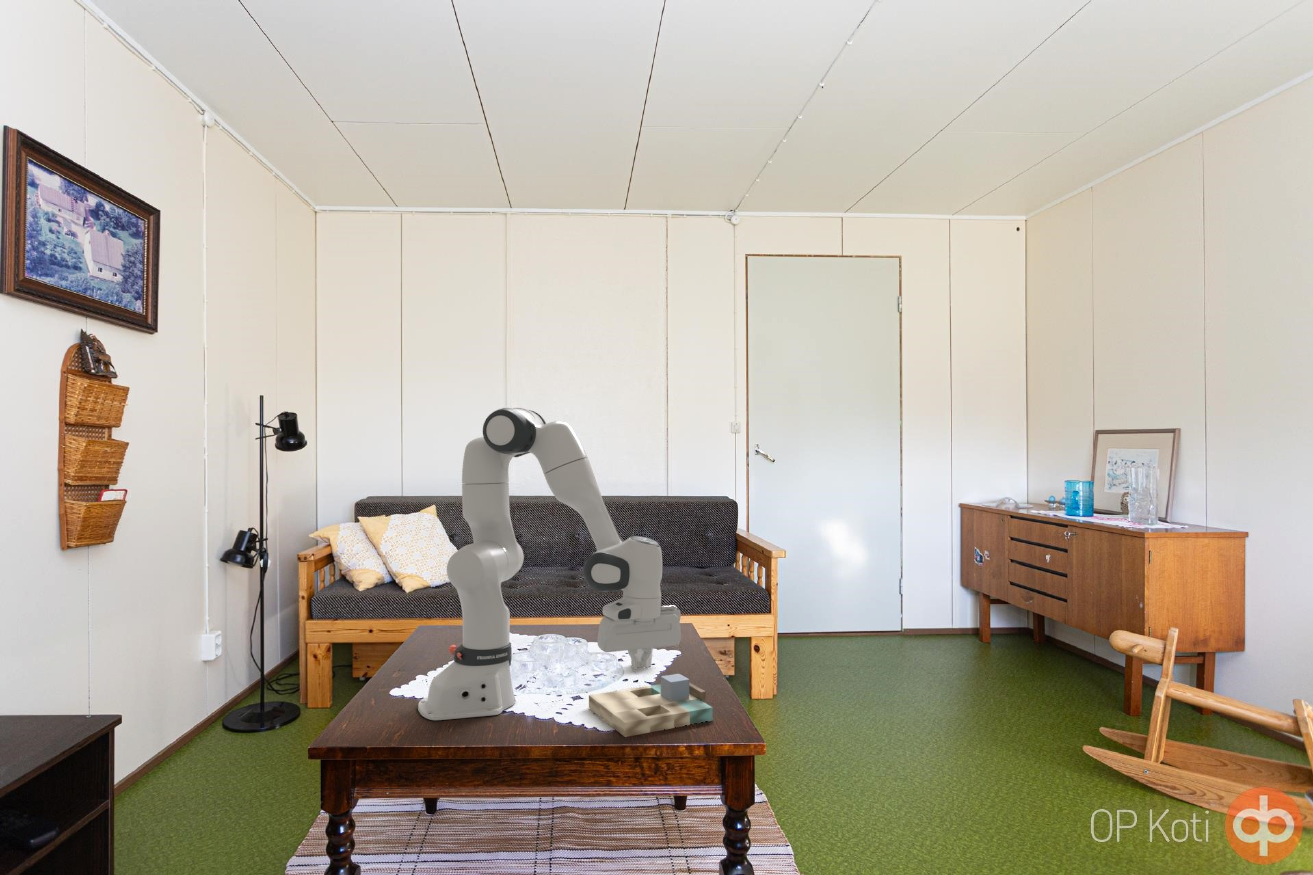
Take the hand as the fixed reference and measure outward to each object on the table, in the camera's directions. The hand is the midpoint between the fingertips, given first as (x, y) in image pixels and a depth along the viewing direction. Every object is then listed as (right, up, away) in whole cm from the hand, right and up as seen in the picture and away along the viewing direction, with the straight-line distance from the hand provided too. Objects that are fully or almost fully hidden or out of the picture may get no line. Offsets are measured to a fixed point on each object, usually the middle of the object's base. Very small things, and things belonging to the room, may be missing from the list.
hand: (638, 667), depth 175 cm
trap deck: (+2, -11, +1) cm, 11 cm away
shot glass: (0, -12, +40) cm, 42 cm away
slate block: (+8, -8, +4) cm, 12 cm away
